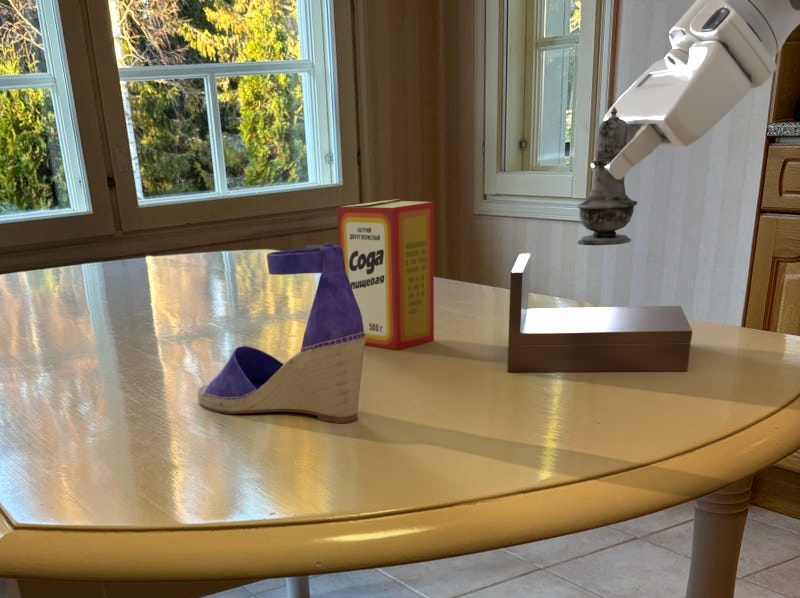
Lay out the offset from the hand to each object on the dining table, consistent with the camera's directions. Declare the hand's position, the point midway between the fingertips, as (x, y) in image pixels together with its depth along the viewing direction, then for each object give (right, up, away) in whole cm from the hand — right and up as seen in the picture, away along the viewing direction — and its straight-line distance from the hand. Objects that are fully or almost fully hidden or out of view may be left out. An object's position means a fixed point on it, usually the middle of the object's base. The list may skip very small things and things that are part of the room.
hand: (603, 173), depth 92 cm
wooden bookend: (+2, -15, +10) cm, 18 cm away
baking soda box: (-20, -9, +25) cm, 33 cm away
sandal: (-32, -24, -1) cm, 40 cm away
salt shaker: (+1, -6, +3) cm, 7 cm away
